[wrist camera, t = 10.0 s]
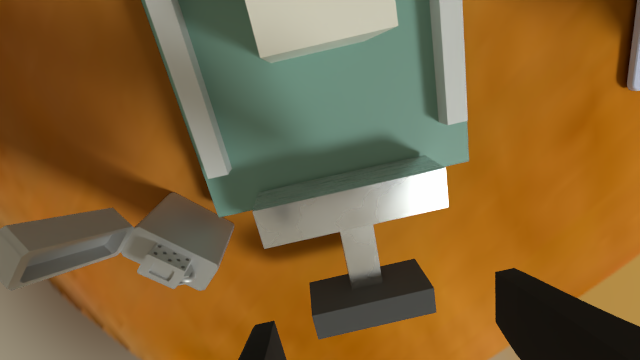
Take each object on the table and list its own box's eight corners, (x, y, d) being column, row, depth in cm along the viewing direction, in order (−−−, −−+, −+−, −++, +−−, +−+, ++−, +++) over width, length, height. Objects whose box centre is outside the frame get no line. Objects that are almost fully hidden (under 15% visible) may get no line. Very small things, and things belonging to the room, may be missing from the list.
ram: (424, 155, 16) (457, 175, 13) (435, 264, 19) (465, 305, 15) (258, 192, 16) (249, 222, 13) (289, 297, 19) (289, 345, 15)
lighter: (235, 224, 19) (197, 326, 11) (222, 246, 19) (175, 358, 12) (120, 163, 17) (-18, 235, 9) (107, 188, 17) (-36, 277, 10)
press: (435, -176, 13) (491, -274, 10) (455, 154, 18) (497, 175, 15) (116, -107, 13) (46, -179, 9) (224, 206, 18) (206, 240, 14)
